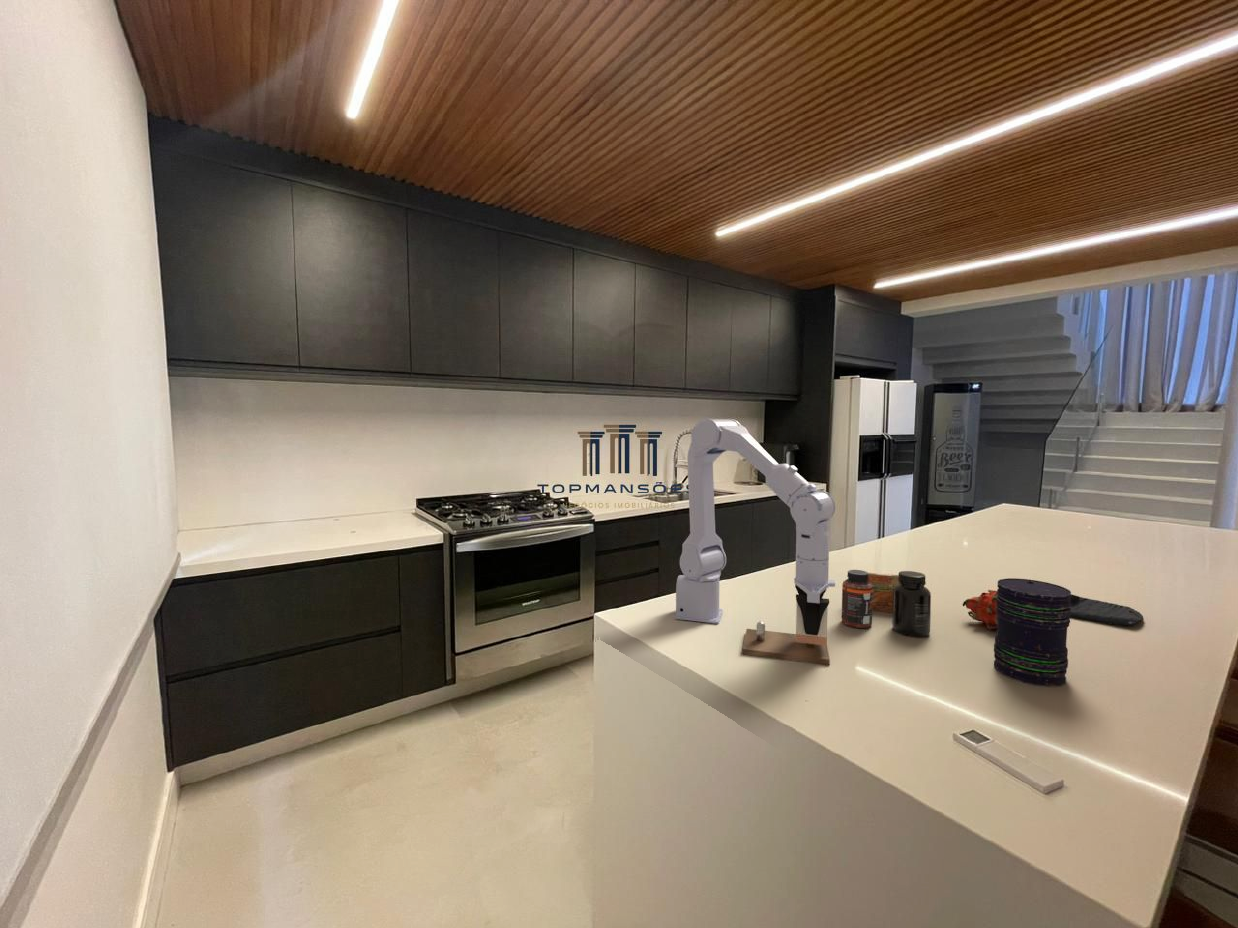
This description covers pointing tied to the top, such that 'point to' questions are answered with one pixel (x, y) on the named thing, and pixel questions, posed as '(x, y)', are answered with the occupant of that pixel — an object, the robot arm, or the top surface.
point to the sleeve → (811, 639)
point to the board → (784, 648)
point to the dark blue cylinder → (1032, 631)
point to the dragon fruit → (984, 608)
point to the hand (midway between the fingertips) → (810, 628)
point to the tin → (883, 591)
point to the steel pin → (760, 632)
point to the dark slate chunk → (1103, 611)
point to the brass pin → (810, 645)
